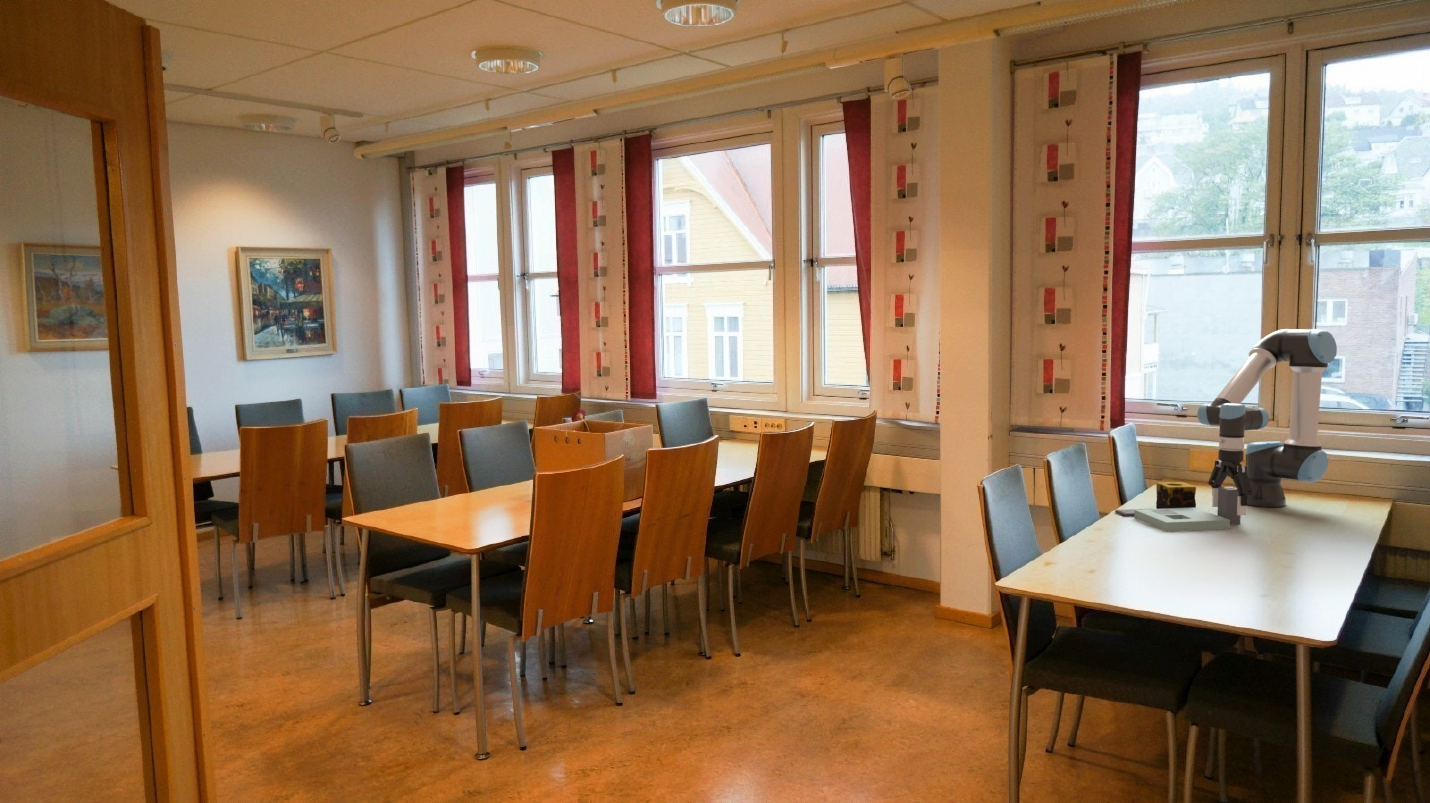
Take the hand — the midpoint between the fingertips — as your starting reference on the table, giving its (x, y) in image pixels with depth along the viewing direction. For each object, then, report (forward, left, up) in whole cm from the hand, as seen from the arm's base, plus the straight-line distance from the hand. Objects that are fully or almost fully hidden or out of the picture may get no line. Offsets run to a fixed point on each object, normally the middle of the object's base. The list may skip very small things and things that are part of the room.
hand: (1228, 510), depth 324 cm
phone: (+22, -18, -4) cm, 29 cm away
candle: (+7, -20, -4) cm, 22 cm away
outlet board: (+16, -2, -4) cm, 16 cm away
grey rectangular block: (0, 0, -4) cm, 4 cm away
